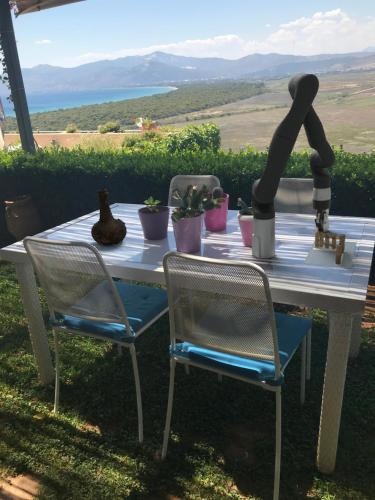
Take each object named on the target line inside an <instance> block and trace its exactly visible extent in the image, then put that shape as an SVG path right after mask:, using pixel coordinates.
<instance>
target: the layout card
mask: <svg viewBox="0 0 375 500" xmlns="http://www.w3.org/2000/svg"><path fill="white" fill-rule="evenodd" d="M324 242H325V239H324ZM329 243H332V239H331V240H330V239H329ZM336 244H339V240H336ZM356 245H357V241H346V240H345V248H344V253H343V254H342V256H341V264H335V262H336V249H332V247H330V246H329V248H325V246H323V248H322V247H315V240H314V241H313V244H312V246H311V248H310V250H309V252H308V254H307V256H306V257H305V260H304V261H303V264H307V265H315V266H327V267H336V268H337V267H338V268H346V269H347V268H349V269H350V268H352V263H353V259H354V255H355V251H356Z"/></svg>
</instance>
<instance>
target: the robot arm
mask: <svg viewBox="0 0 375 500" xmlns="http://www.w3.org/2000/svg"><path fill="white" fill-rule="evenodd" d="M319 88H320V80H319V78H318V76H317V75H315V74H313V73H305V72H298V73H294V74H293V75H292V76H291V77H290V78H289V80H288V83H287V90H288V93H289V96H290V97H291V100H292V102H291V103H292V104H291V106H290V109H289V110H288V111H287V113H286V115H285V116H284V117H283V119H282V120H281V121H280V122H279V123H278V125H277V126H276V128H275V130H274V132H273V135H272V138H271V141H270V143H269V146H268V151H267V157H266V163H265V167H264V170H263V173H262V174H261V177H260V178H258V179H256V181H254V182H253V185H252V187H251V204H252V205H251V210H252V220H253V234H252V237H251V255H252V256H254V257H256V259H271V258H274V257H276V209H275V199H276V196H277V194H278V193H277V192H278V188H279V186H280V185H279V184H280V182H281V178H282V175H283V172H284V170H285V169H286V165H287V164H288V161H289V159H290V157H291V155H292V152H293V151H294V147H295V145H296V142H297V139H298V137H299V134H300V131H301V130H302V126H303V128H304V132H305V136H306V139H307V144H308V145H309V147H310V148H311V149H313V151H312V152H311V154H310V155H309V162H308V163H309V168H310V171H311V174H312V178H313V179H312V180H313V181H312V182H313V183H312V200H311V201H312V205H311V206H312V209H314V210H316V212H315V219H314V223H315V224H316V227H317V228H318V231H319V234H320V232H324V226H325V224H326V217H327V212H326V210H327V209H329V210H330V208H331V197H332V196H331V195H332V193H331V192H332V191H331V174H329V173H328V172H326V171H325V169H330V168H332V167H333V166H334V164H335V162H336V155H335V152H334V150H333V148H332V146H331V145H330V143H329V141H328V140H327V137H326V133H325V129H324V126H323V123H322V121H321V119H320V117H319V115H318V114H317V112H316V110H315V109H314V106H313V103H314V101H315V98H316V96H317V94H318V93H319V92H318V91H319ZM324 233H325V232H324Z"/></svg>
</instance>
